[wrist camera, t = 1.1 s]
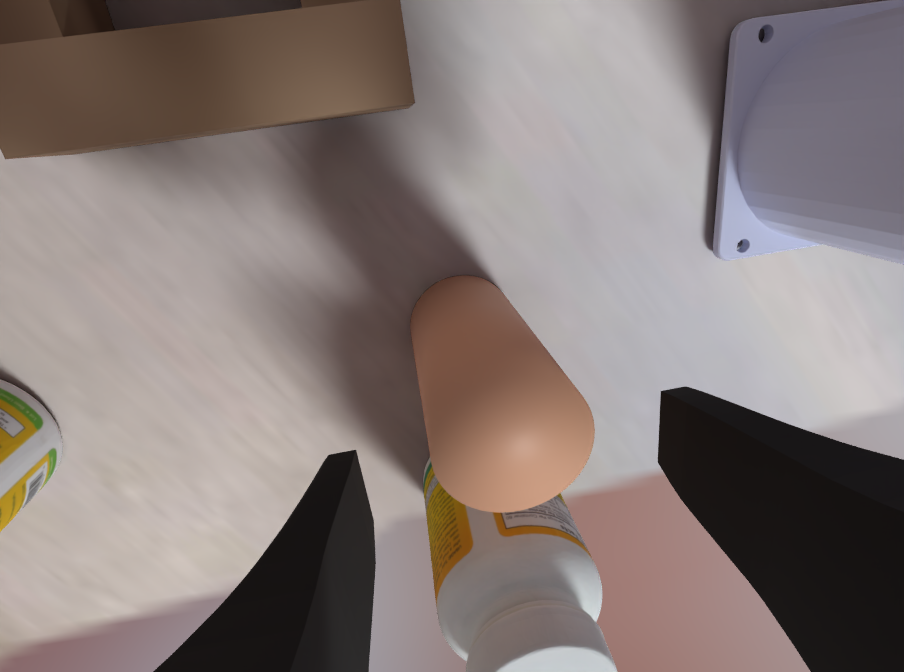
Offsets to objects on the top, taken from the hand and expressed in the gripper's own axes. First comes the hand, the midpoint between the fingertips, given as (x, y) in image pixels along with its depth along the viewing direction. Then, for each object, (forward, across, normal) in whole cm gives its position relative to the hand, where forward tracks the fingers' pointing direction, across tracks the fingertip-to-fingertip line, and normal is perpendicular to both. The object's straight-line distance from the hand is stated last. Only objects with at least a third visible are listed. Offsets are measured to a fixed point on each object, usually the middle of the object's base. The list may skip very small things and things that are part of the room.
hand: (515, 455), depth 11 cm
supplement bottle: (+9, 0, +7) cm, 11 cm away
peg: (+8, 0, 0) cm, 8 cm away
